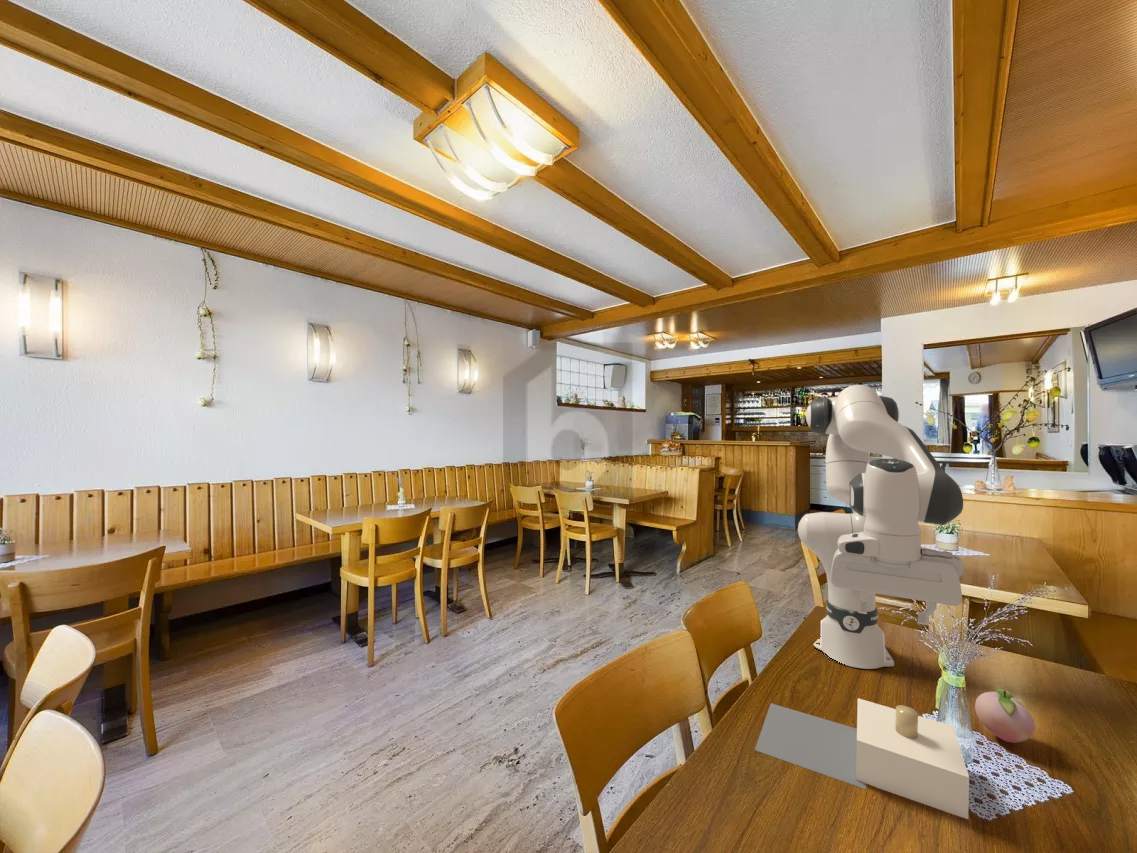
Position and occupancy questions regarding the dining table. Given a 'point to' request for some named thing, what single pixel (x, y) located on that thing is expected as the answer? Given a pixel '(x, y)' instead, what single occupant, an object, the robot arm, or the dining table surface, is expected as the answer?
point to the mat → (810, 743)
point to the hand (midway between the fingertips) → (891, 617)
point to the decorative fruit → (1004, 716)
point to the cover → (911, 757)
